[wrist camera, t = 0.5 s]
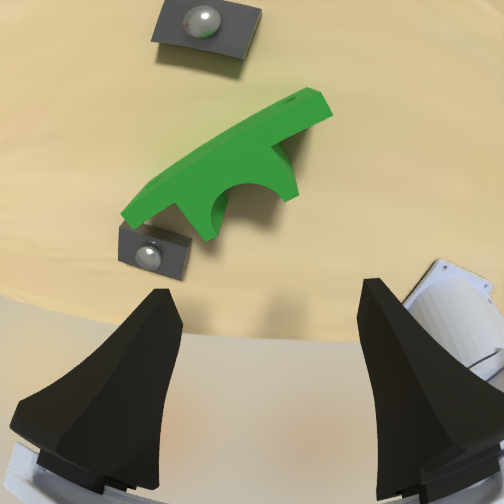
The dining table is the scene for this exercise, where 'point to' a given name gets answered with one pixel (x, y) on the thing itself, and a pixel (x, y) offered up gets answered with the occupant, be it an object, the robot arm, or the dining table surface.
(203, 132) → the dining table surface
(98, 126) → the dining table surface
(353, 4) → the dining table surface
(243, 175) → the pipe clamp
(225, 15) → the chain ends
